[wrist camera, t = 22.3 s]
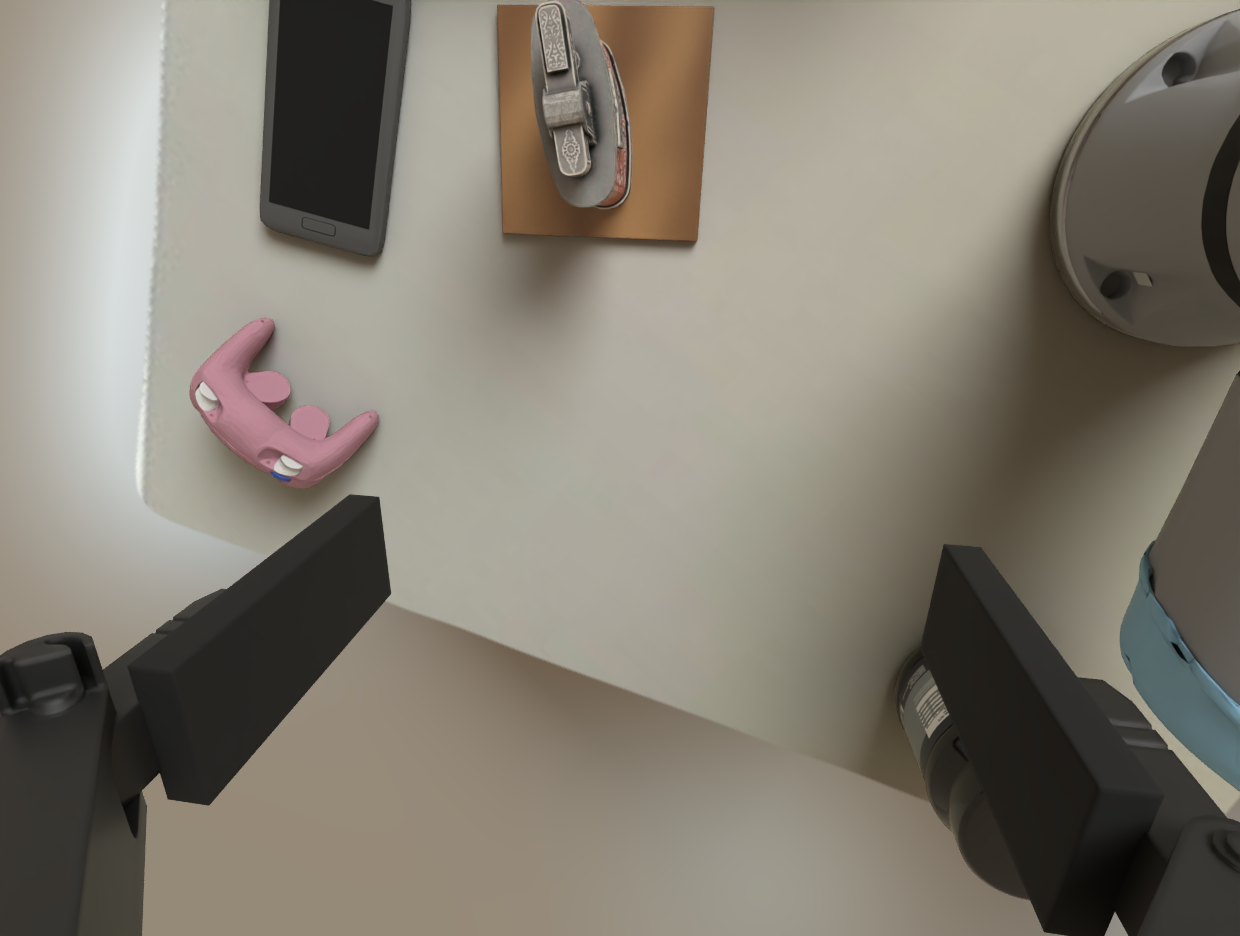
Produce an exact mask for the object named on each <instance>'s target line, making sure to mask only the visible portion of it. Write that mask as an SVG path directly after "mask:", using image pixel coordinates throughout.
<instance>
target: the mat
mask: <svg viewBox="0 0 1240 936" xmlns="http://www.w3.org/2000/svg"><path fill="white" fill-rule="evenodd" d="M538 6H539V5H498V6H497V8H498V50H499V91H500V132H501V174H502V215H503V233H510V234H534V235H557V236H581V237H605V238H629V239H652V240H676V241H697V239H698V226H699V212H700V198H701V185H702V171H703V157H704V144H705V130H706V116H707V103H708V89H709V75H710V62H711V48H712V34H713V21H714V7H708V6H587V5H585V6H586V7H587V8H588V10H589V12H590V14H591V16H592V18H593V20H594V21H595V25H596V28H597V31H598V34H599V38H600V40H602V41H603V42H604V43H606V44H607V45H608V46H609V48H610V50H611V51H612V53H613V55H614V57H615V60H616V63H617V67H618V70H619V73H620V76H621V80H622V83H623V86H624V90H625V95H626V100H627V106H628V111H629V116H630V122H631V135H632V152H633V162H632V183H631V191H630V195H629V196H628V198H627V199H626V201H625V202H624V203H623V204H621V205H620V206H619V207H616V208H613V209H598V208H596V207H577V206H574V205H571V204H569V203H567V202H566V201H565V200H564V199H563V198H561V196H560V194H559V192H558V191H557V189H556V186H555V183H554V180H553V177H552V174H551V171H550V168H549V165H548V162H547V160H546V157H545V154H544V149H543V145H542V141H541V136H540V132H539V128H538V123H537V119H536V115H535V106H534V96H533V86H532V76H531V26H532V21H533V17H534V15H535V13H536V9H537V7H538Z"/></svg>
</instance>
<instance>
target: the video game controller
mask: <svg viewBox="0 0 1240 936" xmlns="http://www.w3.org/2000/svg"><path fill="white" fill-rule="evenodd" d="M274 328H275V324H274V321H273V320H272V319H270V318H261V319H258V320H255V321H252V322H250V323H249V324H247V325H246V326H244V327H243V328H242V329H240V330H239V331H238V332H237V333H236V334H234V335H233V336H232V337H231V338H230V339H228V340H227V341H226V342H225V343H224V344H223V345H222V346H221V347H220V348H218V349H217V350H216V351H215V352H214V353H213V354H212V355H211V356H210V357H209V358H208V359H207V360H206V361H205V362H204V364H203V365H202V366H201V367H200V368H199V369H198V370H197V372H196V373H195V374H194V376H193V378H192V381H191V386H190V399H191V402H192V404H193V406H194V407H195V408H196V409H197V410H198V411H199V412H200V414H201V416H202V418H203V419H204V421H205V422H206V424H207V425H208V427H209V428H210V429H211V431H212V432H213V433H214V434H215V435H216V436H217V437H218V438H219V439H220V440H221V441H222V442H223V443H224V444H225V445H226V446H227V447H228V448H229V449H230V450H232V451H233V452H234V453H236V454H237V455H238V456H240V457H241V458H242V459H243V460H245V461H247V462H248V463H250V464H252V465H253V466H255V467H257V468H258V469H260V470H262V471H264V472H266V473H268V474H271V475H273V476H274V477H275V478H277V479H278V480H279V481H280V482H282V483H283V484H285V485H288V486H290V487H294V488H308V487H311V486H314V485H316V484H317V483H319V482H320V481H321V480H322V479H323V478H324V477H325V476H326V475H328V474H329V473H331V472H333V471H334V470H335V469H337V468H338V467H339V466H341V465H342V464H343V463H344V462H345V461H347V460H348V459H349V458H350V457H351V456H352V455H353V454H354V453H355V452H356V451H357V449H358V448H359V447H360V446H361V445H362V444H363V443H364V442H365V440H366V439H367V438H368V437H369V436H370V435H371V433H372V432H373V431H374V429H375V428H376V426H377V424H378V420H379V415H378V414H377V412H375V411H369V412H365V413H363V414H361V415H359V416H357V417H355V418H354V419H352V420H351V421H350V422H349V423H347V424H346V425H345V426H344V427H342V428H341V429H340V430H338V431H337V432H336V433H334V434H332V435H331V436H329V437H327V438H326V434H327V431H328V428H329V423H330V421H329V417H328V416H327V414H326V413H325V412H324V411H322V410H321V409H319V408H317V407H315V406H310V405H305V406H301V407H299V408H297V409H296V410H295V411H294V412H293V414H292V416H291V419H290V421H289V423H288V424H287V423H285V422H284V421H283V420H282V419H281V418H280V417H278V416H277V415H276V414H275V413H274V412H273V411H271V410H272V409H276V408H278V407H280V406H282V405H283V404H284V403H285V401H286V399H287V398H288V396H289V394H290V390H291V388H290V385H289V382H288V381H287V380H286V378H285V377H284V376H282V375H281V374H279V373H277V372H273V371H262V372H254V373H249V372H248V368H249V366H250V364H251V361H252V360H253V358H254V357H255V356H256V355H257V354H258V352H259V351H260V350H261V349H262V348H263V346H264V345H265V344H266V342H267V341H268V339H269V338H270V336H271V335H272V332H273V330H274Z"/></svg>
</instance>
